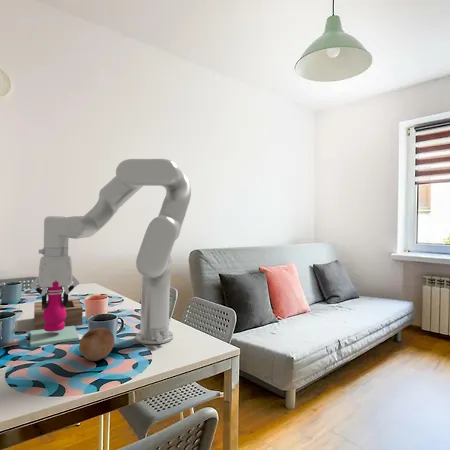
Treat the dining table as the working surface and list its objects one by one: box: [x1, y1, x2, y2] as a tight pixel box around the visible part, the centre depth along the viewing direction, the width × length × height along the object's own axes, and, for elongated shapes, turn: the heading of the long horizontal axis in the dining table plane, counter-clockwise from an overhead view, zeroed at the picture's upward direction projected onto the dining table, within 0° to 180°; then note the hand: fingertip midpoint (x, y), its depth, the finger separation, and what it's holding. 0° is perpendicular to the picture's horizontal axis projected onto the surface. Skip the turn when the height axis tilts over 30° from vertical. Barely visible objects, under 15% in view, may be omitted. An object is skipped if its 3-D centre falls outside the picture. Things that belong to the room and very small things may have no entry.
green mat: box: [29, 325, 80, 348], centre depth 115 cm, size 14×14×1 cm
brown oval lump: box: [79, 326, 115, 362], centre depth 98 cm, size 10×9×10 cm
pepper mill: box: [43, 280, 66, 332], centre depth 115 cm, size 7×7×20 cm
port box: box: [33, 298, 84, 330], centre depth 131 cm, size 16×16×6 cm
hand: (54, 305), depth 115 cm, fingers closed on pepper mill, 5 cm apart
